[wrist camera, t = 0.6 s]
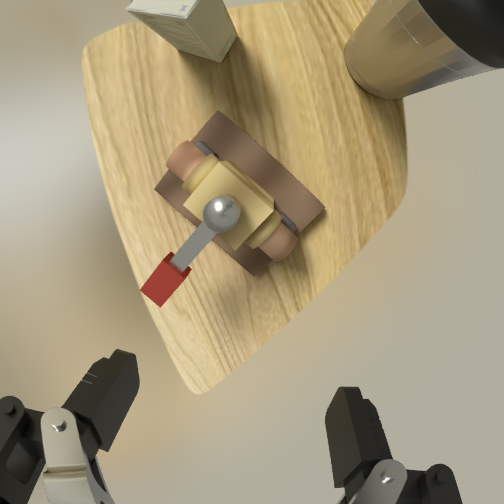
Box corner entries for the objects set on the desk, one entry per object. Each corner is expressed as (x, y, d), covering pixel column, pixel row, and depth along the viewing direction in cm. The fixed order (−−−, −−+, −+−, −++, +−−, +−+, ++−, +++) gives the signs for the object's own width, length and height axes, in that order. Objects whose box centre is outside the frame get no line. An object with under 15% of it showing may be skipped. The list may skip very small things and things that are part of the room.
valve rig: (159, 187, 30) (124, 200, 22) (220, 112, 27) (200, 98, 19) (255, 271, 33) (249, 308, 25) (322, 204, 29) (339, 223, 22)
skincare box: (239, 35, 23) (218, -21, 12) (220, 65, 25) (188, 20, 13) (191, 21, 22) (152, -29, 11) (173, 50, 24) (123, 9, 13)
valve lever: (223, 186, 21) (218, 190, 19) (248, 208, 21) (245, 214, 20) (147, 279, 25) (138, 289, 23) (168, 297, 25) (161, 308, 23)
